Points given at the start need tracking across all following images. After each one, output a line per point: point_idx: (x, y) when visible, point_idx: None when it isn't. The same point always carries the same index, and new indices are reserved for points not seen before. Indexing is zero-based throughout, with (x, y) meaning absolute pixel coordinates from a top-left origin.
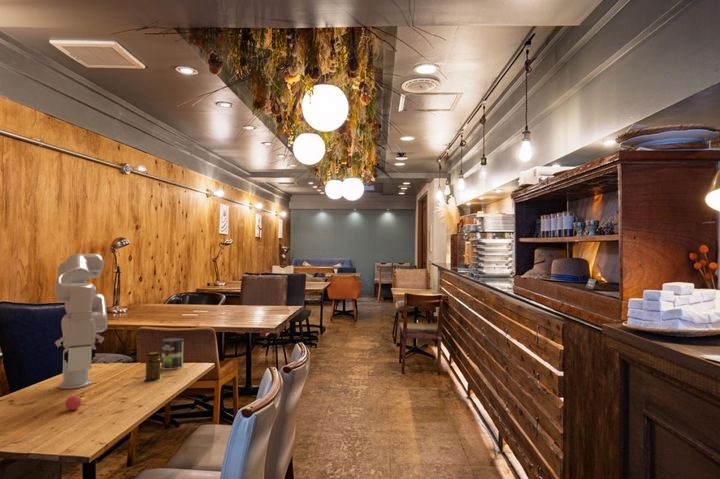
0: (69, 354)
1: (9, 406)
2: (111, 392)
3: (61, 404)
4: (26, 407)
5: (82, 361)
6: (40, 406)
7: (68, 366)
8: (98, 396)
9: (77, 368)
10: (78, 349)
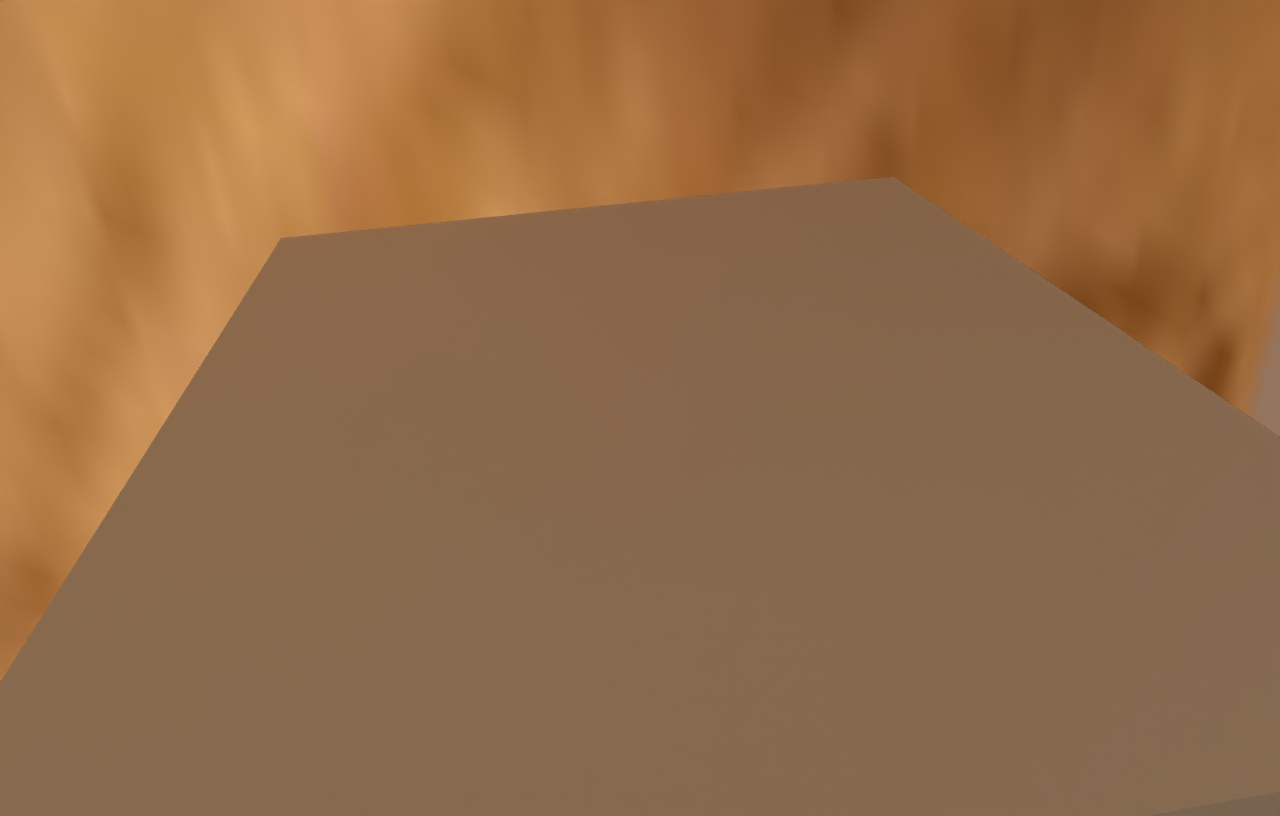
0: (1229, 453)
1: (1261, 274)
2: (155, 359)
3: (768, 57)
4: (1139, 139)
5: (543, 323)
6: (1004, 99)
7: (949, 224)
8: (305, 235)
9: (667, 219)
10: (904, 706)
